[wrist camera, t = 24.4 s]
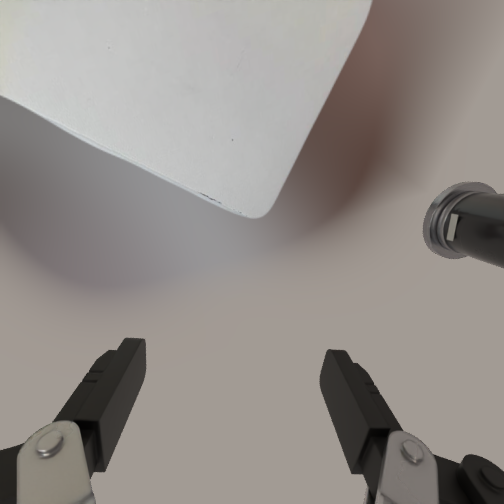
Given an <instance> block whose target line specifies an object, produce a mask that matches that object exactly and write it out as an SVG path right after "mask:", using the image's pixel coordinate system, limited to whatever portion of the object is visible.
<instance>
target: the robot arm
mask: <svg viewBox="0 0 504 504" xmlns="http://www.w3.org/2000/svg"><path fill="white" fill-rule="evenodd" d="M437 235H438V239H439V241H440V243H441V244H442V246H443V247H444V248H446V249H448V250H450V251H453V252H456V253H461V254H464V255H467V256H470V257H472V258H475V259H478V260H481V261H484V262H487V263H490V264H493V265H496V266H498V267H501V268H504V194H495V193H487V192H480V191H470V192H466V193H463V194H461V195H459V196H457V197H456V198H454V199H453V200H452V201H451V202H450V203H449V204H448V205H447V206H446V207H445V209H444V210H443V212H442V214H441V216H440V218H439V221H438V226H437ZM145 373H146V343H145V339H141V338H140V339H139V338H125V339H124V340H123V342H122V343H121V345H120V346H119V348H118V349H117V350H108V351H107V352H106V353H104V354H103V355H102V356H101V357H99V358H98V359H97V360H96V361H95V363H94V364H93V366H92V367H91V368H90V370H89V373H87V374H86V376H85V377H84V379H83V380H82V382H81V383H80V384H79V385H78V387H77V388H76V390H75V391H74V392H73V394H72V395H71V397H70V398H69V400H68V401H67V402H66V404H65V405H64V407H63V408H62V410H61V411H60V412H59V414H58V415H57V417H56V418H55V419H54V421H53V422H52V423H51V424H49V425H46V426H45V427H43V428H41V429H39V430H38V431H37V432H35V433H34V434H33V435H32V436H30V437H29V438H28V439H27V441H26V442H25V443H23V444H20V445H17V446H14V447H11V448H7V449H3V450H0V504H96V501H95V497H94V494H93V492H92V487H91V482H90V479H91V477H92V475H93V472H105V471H106V469H107V466H108V464H109V461H110V459H111V457H112V454H113V452H114V450H115V447H116V445H117V443H118V440H119V438H120V436H121V433H122V431H123V429H124V426H125V424H126V421H127V419H128V417H129V414H130V412H131V410H132V407H133V405H134V403H135V400H136V398H137V395H138V393H139V391H140V389H141V386H142V384H143V381H144V378H145ZM320 388H321V392H322V394H323V397H324V400H325V403H326V405H327V408H328V411H329V414H330V416H331V419H332V422H333V425H334V427H335V430H336V433H337V436H338V438H339V441H340V444H341V446H342V449H343V452H344V455H345V457H346V460H347V463H348V465H349V468H350V471H351V474H363V475H364V478H365V480H366V483H367V485H368V486H367V489H366V493H365V498H364V503H363V504H504V471H502V470H501V469H500V468H499V467H498V466H496V465H495V464H493V463H492V462H490V461H489V460H487V459H485V458H483V457H480V456H477V455H472V454H469V455H466V456H465V457H464V458H463V460H462V462H461V463H460V464H459V463H456V462H454V461H451V460H448V459H445V458H442V457H439V456H436V455H434V454H432V452H431V451H430V450H429V448H428V447H427V446H426V445H425V444H424V443H423V442H422V441H421V440H419V439H418V438H417V437H415V436H413V435H411V434H410V433H407V432H404V431H403V429H402V428H401V426H400V424H399V423H398V421H397V420H396V418H395V416H394V415H393V413H392V411H391V410H390V408H389V407H388V405H387V403H386V402H385V400H384V398H383V397H382V395H380V392H379V390H378V389H377V387H376V386H375V385H374V382H373V381H372V379H371V377H370V376H369V374H368V373H367V372H366V371H365V370H364V369H363V368H362V367H361V366H360V365H359V364H358V363H353V362H352V360H351V358H350V357H349V355H348V353H347V352H346V351H345V350H331V349H329V350H327V352H326V355H325V359H324V362H323V366H322V370H321V374H320Z"/></svg>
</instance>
